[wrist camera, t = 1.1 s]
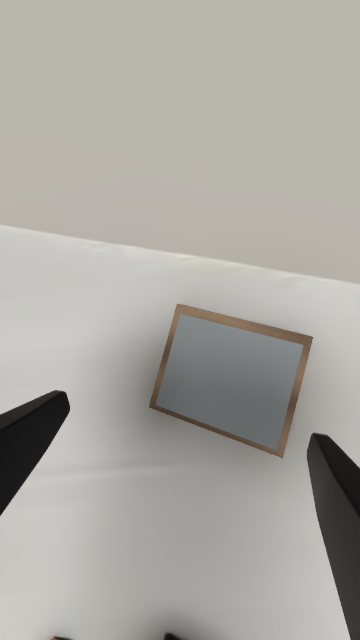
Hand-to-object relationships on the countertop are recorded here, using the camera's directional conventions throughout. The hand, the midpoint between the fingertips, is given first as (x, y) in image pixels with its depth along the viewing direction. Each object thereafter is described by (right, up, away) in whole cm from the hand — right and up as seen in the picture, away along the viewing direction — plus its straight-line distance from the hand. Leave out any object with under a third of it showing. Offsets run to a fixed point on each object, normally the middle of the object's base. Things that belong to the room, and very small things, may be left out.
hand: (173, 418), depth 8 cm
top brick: (+5, -2, +13) cm, 14 cm away
